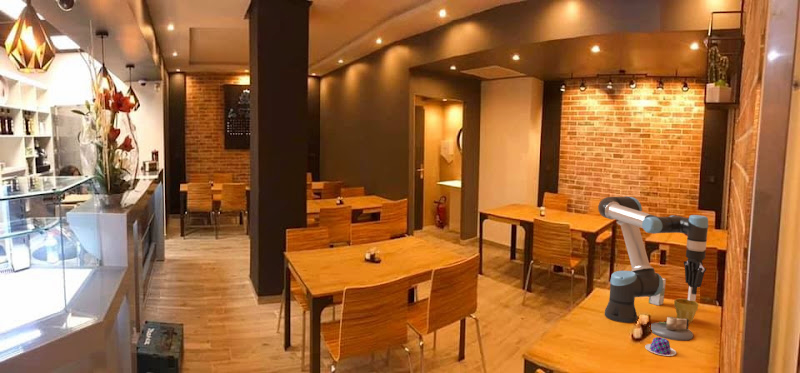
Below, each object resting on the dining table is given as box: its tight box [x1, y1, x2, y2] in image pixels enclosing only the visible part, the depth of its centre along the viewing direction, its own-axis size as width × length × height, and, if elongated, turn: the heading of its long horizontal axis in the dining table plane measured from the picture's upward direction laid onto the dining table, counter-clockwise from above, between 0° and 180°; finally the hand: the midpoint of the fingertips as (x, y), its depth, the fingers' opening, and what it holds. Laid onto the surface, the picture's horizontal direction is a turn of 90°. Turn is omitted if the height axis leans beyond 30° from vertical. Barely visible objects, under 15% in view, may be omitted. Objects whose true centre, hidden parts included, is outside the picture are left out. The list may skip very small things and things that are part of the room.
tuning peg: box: [666, 316, 690, 330], centre depth 230 cm, size 10×4×5 cm, turn 91°
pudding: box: [644, 336, 677, 357], centre depth 210 cm, size 12×12×5 cm
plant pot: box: [673, 298, 699, 323], centre depth 247 cm, size 10×10×10 cm
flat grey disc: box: [651, 321, 694, 342], centre depth 230 cm, size 18×18×2 cm
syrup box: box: [648, 277, 667, 306], centre depth 271 cm, size 6×6×14 cm
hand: (691, 300), depth 222 cm, fingers closed
